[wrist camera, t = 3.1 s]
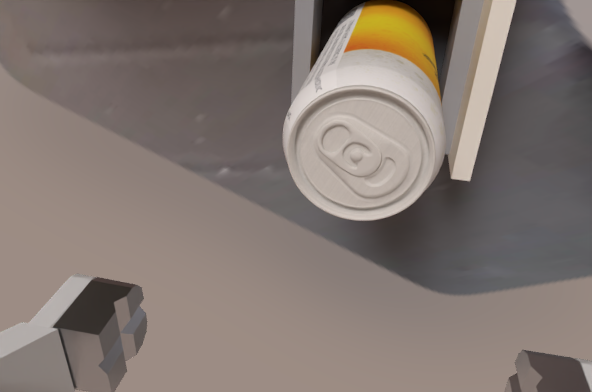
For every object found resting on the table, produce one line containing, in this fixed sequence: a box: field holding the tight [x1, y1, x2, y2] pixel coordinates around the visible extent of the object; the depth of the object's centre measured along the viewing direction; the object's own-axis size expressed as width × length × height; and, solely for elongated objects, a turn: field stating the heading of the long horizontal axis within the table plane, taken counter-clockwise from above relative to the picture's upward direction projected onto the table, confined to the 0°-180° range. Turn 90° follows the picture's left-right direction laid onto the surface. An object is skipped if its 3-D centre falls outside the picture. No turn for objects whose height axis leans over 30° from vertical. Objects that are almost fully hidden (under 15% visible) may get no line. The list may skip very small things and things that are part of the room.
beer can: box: [283, 0, 446, 221], centre depth 24 cm, size 6×6×15 cm
